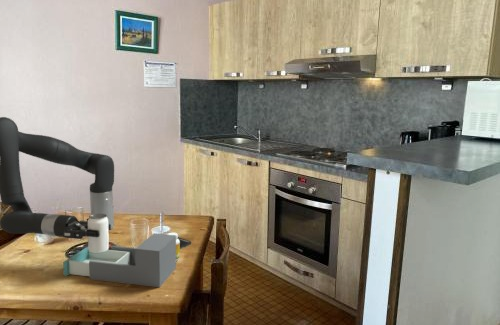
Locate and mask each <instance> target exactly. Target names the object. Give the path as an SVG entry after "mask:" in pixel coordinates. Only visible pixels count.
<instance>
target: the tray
mask: <svg viewBox="0 0 500 325" xmlns="http://www.w3.org/2000/svg"><path fill="white" fill-rule="evenodd" d="M89 261H98V262H107V263H117V264H126V265H131V264H130V252H126V251H116V250H111V249H108V250H107V251H106V252H103V253H98V254H95V253H91V252H89V251H88V246H86V247H84V248H83V249H82V250H80V251H78V252H76V253H75V254H74V255H72V256H71V257H69V258H68V259H65V260H64V261H63V262H62V266H63V276H69V275H76V276H84V277H90V273H89Z"/></svg>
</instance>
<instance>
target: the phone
mask: <svg viewBox="0 0 500 325" xmlns="http://www.w3.org/2000/svg"><path fill="white" fill-rule="evenodd" d="M177 239H179V241H180V250H181V249H183V248H186V247H188V246H191V245H192V241H191V240H188V239H184V238H181V237H179V236H178V238H177Z"/></svg>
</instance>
